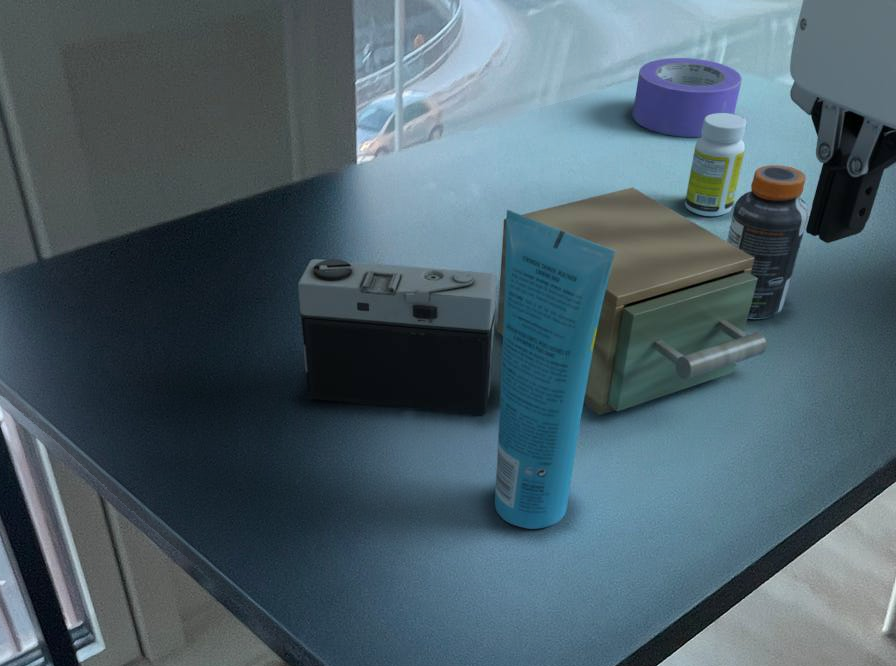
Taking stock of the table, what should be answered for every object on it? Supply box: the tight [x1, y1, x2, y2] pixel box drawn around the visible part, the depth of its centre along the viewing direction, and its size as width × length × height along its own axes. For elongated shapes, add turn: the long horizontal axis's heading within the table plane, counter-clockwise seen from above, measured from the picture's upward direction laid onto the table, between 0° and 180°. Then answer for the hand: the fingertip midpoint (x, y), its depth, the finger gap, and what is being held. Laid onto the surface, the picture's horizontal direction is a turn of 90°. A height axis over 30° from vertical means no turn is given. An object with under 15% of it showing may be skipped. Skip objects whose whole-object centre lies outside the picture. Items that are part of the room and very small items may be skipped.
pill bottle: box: [726, 164, 809, 320], centre depth 85 cm, size 6×6×11 cm
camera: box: [297, 258, 498, 416], centre depth 76 cm, size 14×8×10 cm, turn 80°
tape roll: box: [632, 57, 743, 138], centre depth 119 cm, size 12×12×5 cm
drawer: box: [608, 272, 768, 412], centre depth 77 cm, size 18×11×8 cm, turn 29°
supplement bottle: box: [684, 113, 747, 217], centre depth 100 cm, size 5×5×8 cm
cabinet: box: [496, 187, 754, 416], centre depth 80 cm, size 15×13×10 cm
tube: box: [494, 209, 616, 530], centre depth 62 cm, size 7×5×19 cm, turn 52°
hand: (834, 232), depth 60 cm, fingers closed
